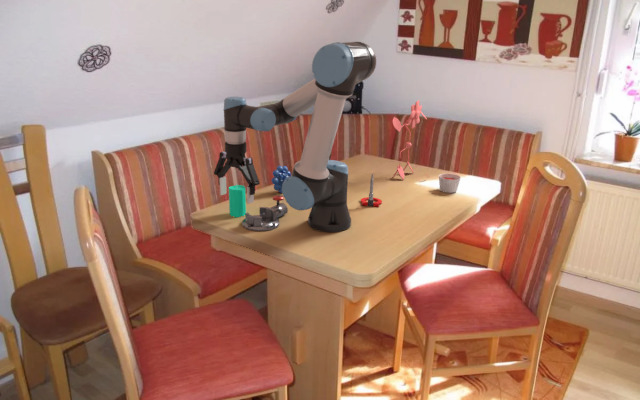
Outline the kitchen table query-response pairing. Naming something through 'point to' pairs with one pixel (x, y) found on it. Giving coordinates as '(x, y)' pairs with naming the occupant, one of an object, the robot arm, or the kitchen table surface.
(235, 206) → the candle
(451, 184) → the candle
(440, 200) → the kitchen table surface
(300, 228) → the kitchen table surface
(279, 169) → the grapes
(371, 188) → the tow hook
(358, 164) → the kitchen table surface
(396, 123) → the figurine
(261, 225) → the fitting
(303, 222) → the kitchen table surface
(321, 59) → the robot arm
